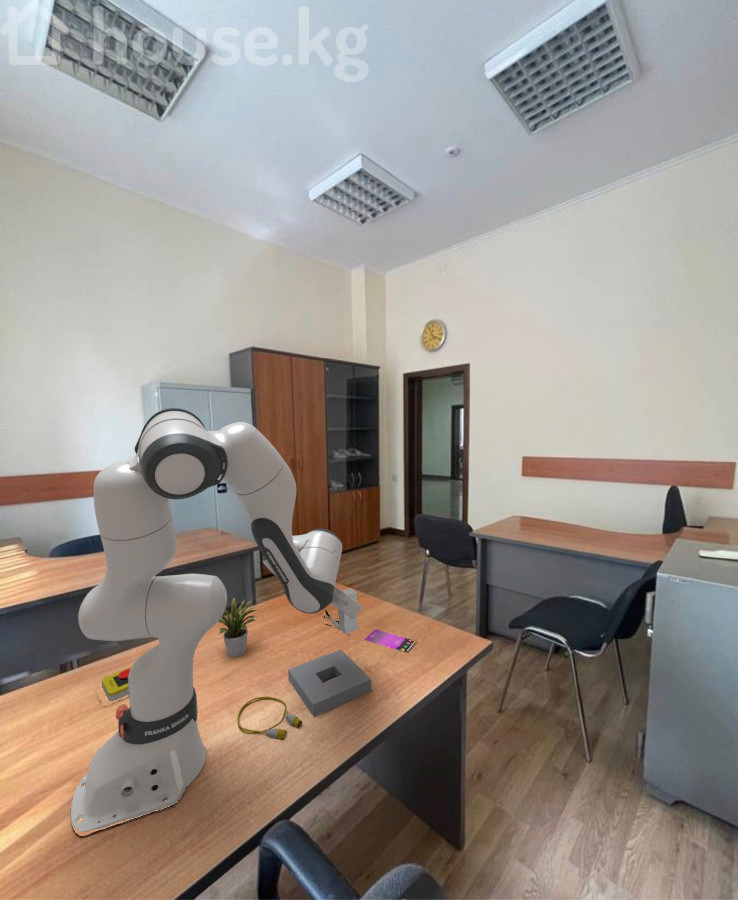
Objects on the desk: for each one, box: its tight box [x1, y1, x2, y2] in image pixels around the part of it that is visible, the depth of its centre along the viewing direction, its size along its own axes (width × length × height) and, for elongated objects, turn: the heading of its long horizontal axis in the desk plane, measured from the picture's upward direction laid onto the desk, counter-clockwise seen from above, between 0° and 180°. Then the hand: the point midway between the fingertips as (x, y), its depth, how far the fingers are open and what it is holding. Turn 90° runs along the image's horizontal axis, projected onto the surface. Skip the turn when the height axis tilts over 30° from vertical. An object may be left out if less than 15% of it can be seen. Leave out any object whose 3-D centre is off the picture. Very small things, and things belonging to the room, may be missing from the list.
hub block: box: [287, 649, 372, 718], centre depth 102 cm, size 16×16×3 cm
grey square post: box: [337, 588, 359, 635], centre depth 103 cm, size 4×3×10 cm
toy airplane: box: [324, 609, 350, 636], centre depth 134 cm, size 8×21×2 cm, turn 33°
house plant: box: [217, 597, 260, 658], centre depth 116 cm, size 14×14×16 cm
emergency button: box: [101, 666, 132, 701], centre depth 104 cm, size 9×4×15 cm
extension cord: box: [237, 696, 303, 740], centre depth 90 cm, size 12×16×2 cm
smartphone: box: [364, 629, 417, 654], centre depth 122 cm, size 7×15×1 cm, turn 59°
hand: (349, 608), depth 103 cm, fingers closed on grey square post, 3 cm apart
